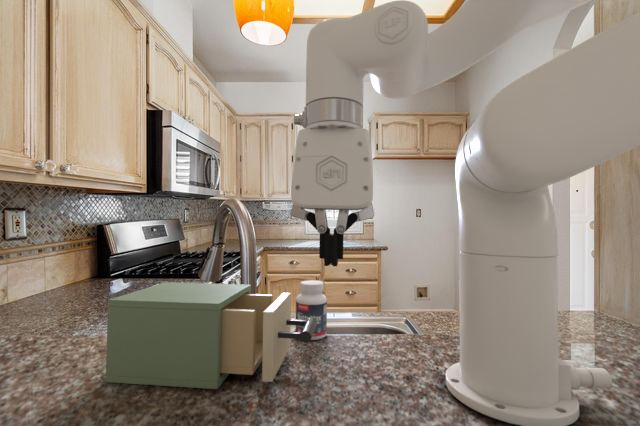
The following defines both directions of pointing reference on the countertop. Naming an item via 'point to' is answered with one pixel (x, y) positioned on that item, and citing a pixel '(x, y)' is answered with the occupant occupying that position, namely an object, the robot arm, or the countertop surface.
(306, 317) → the pill bottle
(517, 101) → the robot arm
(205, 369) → the cabinet
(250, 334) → the drawer
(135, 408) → the countertop surface
